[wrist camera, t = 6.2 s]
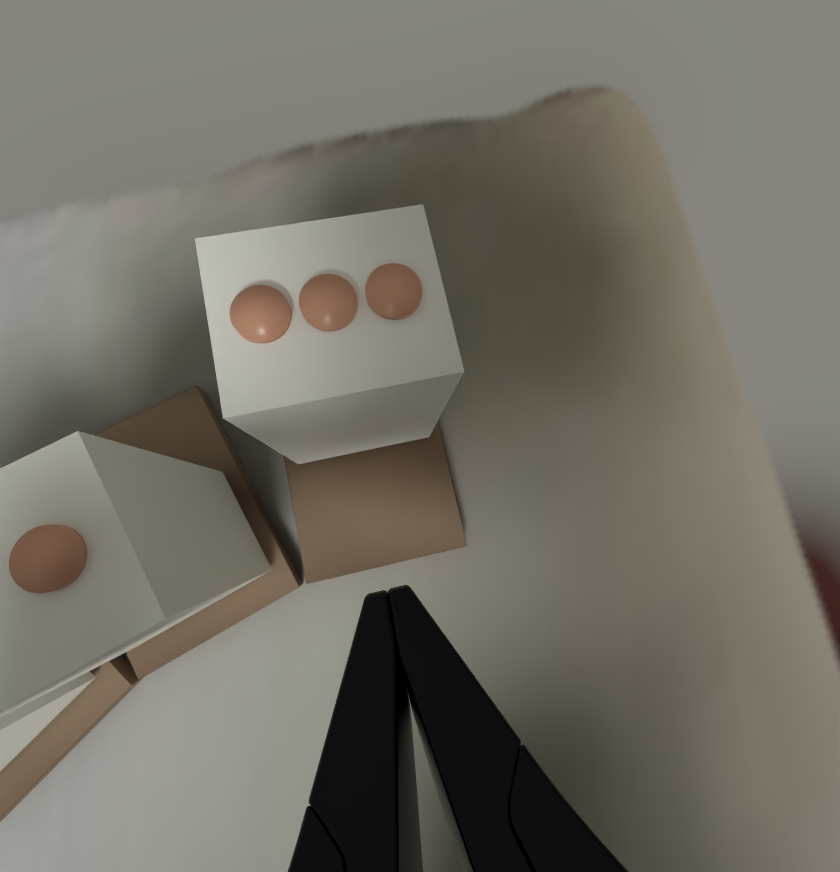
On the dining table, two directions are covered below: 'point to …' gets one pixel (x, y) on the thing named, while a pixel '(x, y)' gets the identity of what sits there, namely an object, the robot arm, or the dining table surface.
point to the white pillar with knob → (36, 717)
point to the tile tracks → (263, 549)
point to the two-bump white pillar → (108, 556)
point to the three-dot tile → (331, 332)
